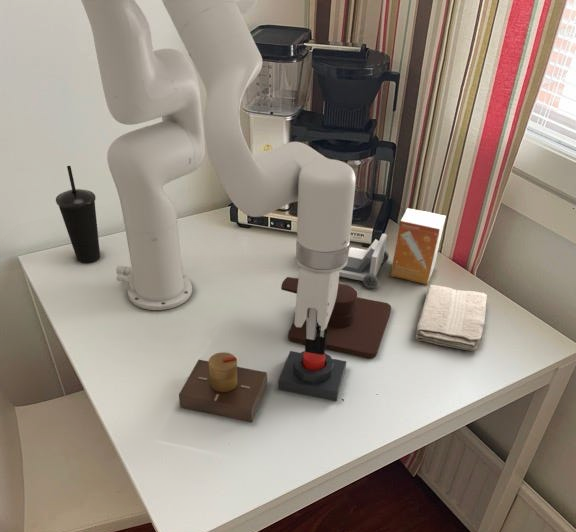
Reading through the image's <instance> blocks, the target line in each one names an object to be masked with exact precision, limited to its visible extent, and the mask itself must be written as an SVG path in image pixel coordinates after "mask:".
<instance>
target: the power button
mask: <svg viewBox="0 0 576 532" xmlns="http://www.w3.org/2000/svg"><path fill="white" fill-rule="evenodd" d="M324 364H325V354H324V355H320V354H314V353H309V352H305V353H304V355H303V366H304V367H305V368H306V369H308V370H312V371H317V370H321V369H322V368H323V367H324Z"/></svg>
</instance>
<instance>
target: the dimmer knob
mask: <svg viewBox="0 0 576 532" xmlns="http://www.w3.org/2000/svg"><path fill="white" fill-rule="evenodd" d="M237 359H238V358H237V357H236V356H235V355H234V354H233V353H230V352H225V351H224V352H222V351H221V352H217V353H214V354H213V355H211V356H210V357H209V359H208V361H209V374H210V385H211V387H212V388H213V389H214V390H216V391H219V392H228V391H231V390H233V389H234V388H235V387H236V386H237V383H238V379H237V367H238V360H237Z"/></svg>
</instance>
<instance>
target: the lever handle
mask: <svg viewBox="0 0 576 532" xmlns="http://www.w3.org/2000/svg"><path fill="white" fill-rule="evenodd" d="M298 280H299V277H291V276H287V277H286V278H284V280H283V281H282V282H281V286H280V290H282V291H285V292H288V293H292V294H296V295H297V288H298ZM391 311H392V306H391V304H389V303H388V302H384V301H380V300H374V299H369V298H364V297H358V292H357V290H356V289H355V288H354V287H352V286H351V285H348V284H345V283H340V282H338V290H337V296H336V301H335V304H334V307H333V310H332V313H331V316H330V319H329V322H328V325H327V329H326V330H328V333H327V345H326V350H325V351H331V352H336V353H341V354H345V355H349V356H354V357H359V358H364V359H375V358H376V357H377V355H378V352H379V349H380V347H381V343H382V341H383V337H384V334H385V331H386V328H387V325H388V321H389V318H390V315H391ZM294 322H295V319H294V320H293V322H292V324H291V326H290V328H289V330H288V335H287V336H288V338H287V339H288V341H289V342H292V343H295V344H298V345H303V346H305V341H306V320H305V322H304V324H303V325H302V327H296V326H295V324H294Z"/></svg>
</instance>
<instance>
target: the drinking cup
mask: <svg viewBox="0 0 576 532" xmlns="http://www.w3.org/2000/svg"><path fill="white" fill-rule="evenodd" d="M66 168H67V172H68V178H69V182H70V187H71V189H68V190H66V191H63V192H61V193H59V194H58V195H57V196H56V197H55V203H56V205H57V206H58V208H59V210H60V214H61V217H62V220H63V222H64V226H65V228H66V231H67V234H68V237H69V240H70V243H71V245H72V249H73V252H74V254H75V257H76V260H77V261H78V262H79V263H82V264H92V263H96V262H97V261H99V260H100V258H101V251H100V242H99V241H100V240H99V232H98V231H99V230H98V222H97V212H96V199H97V197H96V194H95V193H94V192H93V191H91V190H88V189H81V188H76V184H75V180H74V175H73V170H72V166H71V165H67V166H66Z"/></svg>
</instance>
